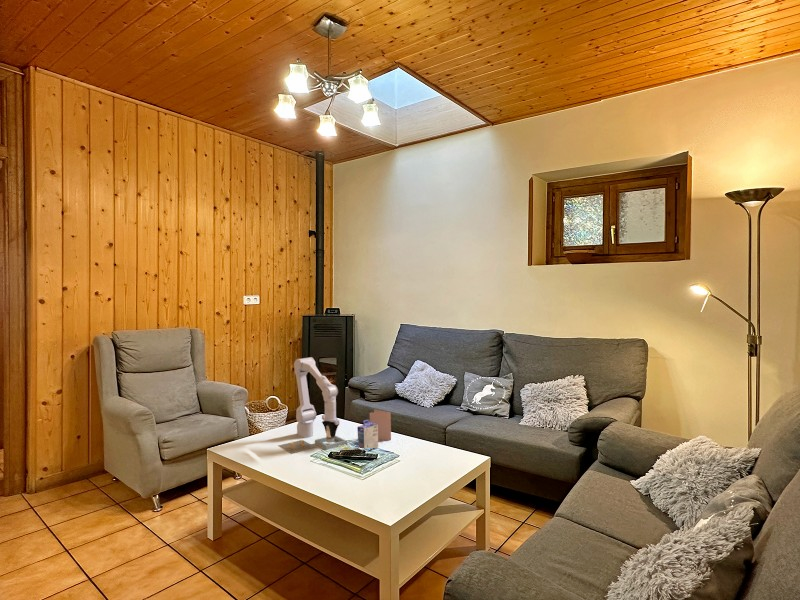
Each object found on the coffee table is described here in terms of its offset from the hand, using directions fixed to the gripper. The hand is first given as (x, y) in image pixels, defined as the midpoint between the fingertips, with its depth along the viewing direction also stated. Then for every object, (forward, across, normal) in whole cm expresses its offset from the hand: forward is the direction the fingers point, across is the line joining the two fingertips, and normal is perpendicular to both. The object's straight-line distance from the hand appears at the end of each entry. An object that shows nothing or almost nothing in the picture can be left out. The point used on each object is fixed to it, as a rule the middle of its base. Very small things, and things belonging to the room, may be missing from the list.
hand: (330, 435), depth 235 cm
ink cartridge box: (+6, +15, +13) cm, 21 cm away
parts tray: (+6, 0, 0) cm, 6 cm away
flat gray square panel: (+6, -8, -15) cm, 18 cm away
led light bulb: (+3, 0, 0) cm, 3 cm away
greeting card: (+6, +7, +26) cm, 28 cm away
